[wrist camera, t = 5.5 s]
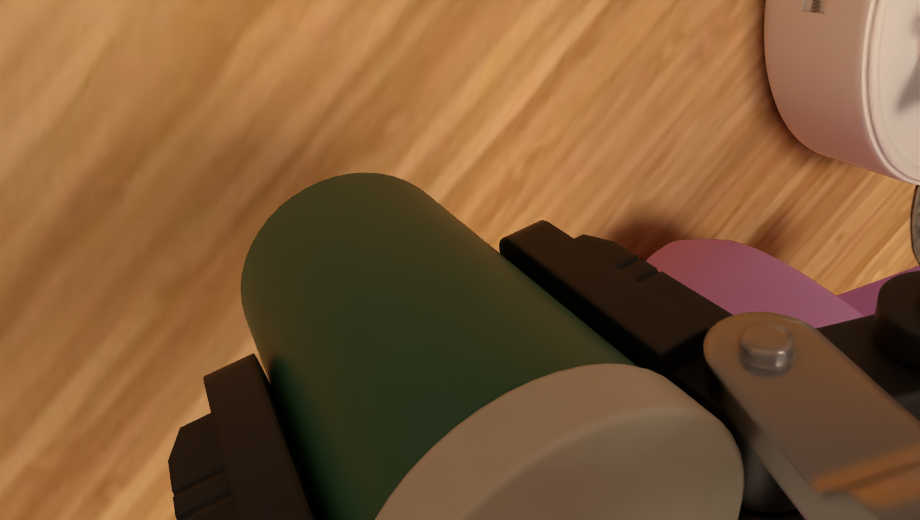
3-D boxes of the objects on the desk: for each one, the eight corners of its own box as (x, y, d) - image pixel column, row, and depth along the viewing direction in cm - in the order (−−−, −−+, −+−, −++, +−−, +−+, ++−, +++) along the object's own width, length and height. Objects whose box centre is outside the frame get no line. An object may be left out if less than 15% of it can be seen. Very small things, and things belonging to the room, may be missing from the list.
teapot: (440, 233, 21) (894, 653, 9) (823, 162, 28) (1359, 342, 16) (438, 615, 30) (667, 1089, 18) (731, 486, 37) (1035, 760, 25)
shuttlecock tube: (218, 379, 11) (330, 812, 6) (254, 148, 10) (446, 426, 4) (429, 372, 14) (660, 685, 8) (482, 180, 12) (808, 397, 7)
